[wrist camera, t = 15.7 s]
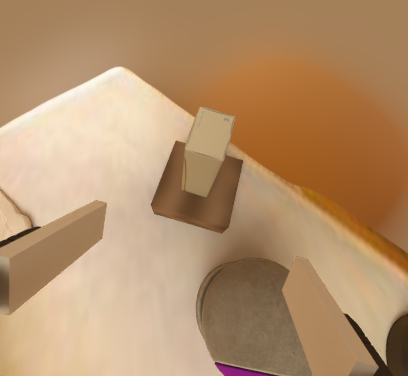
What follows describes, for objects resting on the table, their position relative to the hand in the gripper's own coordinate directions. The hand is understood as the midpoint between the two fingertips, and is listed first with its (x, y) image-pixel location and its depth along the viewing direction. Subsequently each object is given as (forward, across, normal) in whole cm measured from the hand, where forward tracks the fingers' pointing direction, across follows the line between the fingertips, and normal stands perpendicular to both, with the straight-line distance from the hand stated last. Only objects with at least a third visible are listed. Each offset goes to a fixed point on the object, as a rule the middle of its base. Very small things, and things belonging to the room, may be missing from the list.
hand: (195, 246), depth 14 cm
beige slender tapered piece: (+16, -29, -13) cm, 35 cm away
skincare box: (+20, -2, 0) cm, 21 cm away
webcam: (+15, +9, -16) cm, 24 cm away
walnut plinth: (+24, -2, -3) cm, 24 cm away
